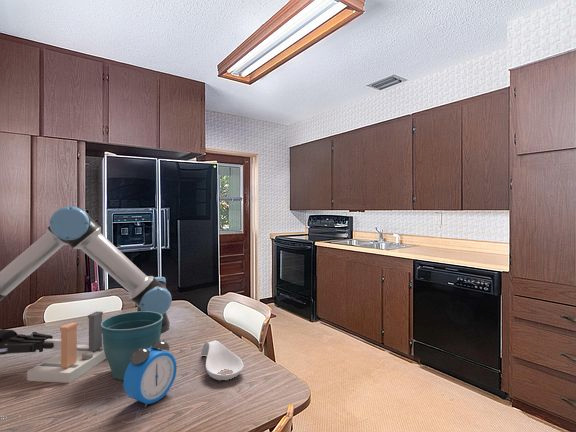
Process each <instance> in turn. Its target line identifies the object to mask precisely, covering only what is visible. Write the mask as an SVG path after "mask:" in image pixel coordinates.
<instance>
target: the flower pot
mask: <svg viewBox="0 0 576 432" xmlns="http://www.w3.org/2000/svg"><path fill="white" fill-rule="evenodd" d="M162 320H163V316H162V315H161V314H160V313H157V312H150V311H138V312H137V311H130V312H124V313H120V314H119V313H118V314H115V315H112V316H109V317H108V318H106V319H104V320H102V323H101V327H102V346H104V352H105V355H106V361H107V363H108V364H109V367H110V373H111V377H112V378H113V379H116V380H120V381H121V380H122V381H124V375H125V372H126V369H127V367H128V365H129V363H130V362H131V361H130V358H131V355H132V354H133V352H134V351H135V350H137V349H139V348H149V347H151V346H152V345H153V344H154V343H155V342H156V341H159V340H161V335H162V333H161V327H162ZM152 348H155V347H152ZM156 349H159V348H156Z"/></svg>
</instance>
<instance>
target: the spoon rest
mask: <svg viewBox="0 0 576 432" xmlns="http://www.w3.org/2000/svg"><path fill="white" fill-rule="evenodd" d="M200 353H201V354H200V356H201V355H207V356H206V358H205V370H206V372H207V375H209V377H211V378H212V379H214V380H216V381H221V380H225V381H229V379H230V380H232V378H233V379H234V377H235V378H236V377H238V375H240V374H241V373H242V372H243V369H244V367H245V366H244V363H243V360H242V359H241V358H240V357H239V356H238V355H236V354H235V353H234V352H233V351H231V350H229V349H228V347H226V346H225V345H223V343H221V342H219V341H218V340H215V339H214V340H211V341H206V342H205V343H204V344H203V347H202V348H201V352H200ZM224 369H229V370H232V371H233V373H232V374H226V375H221V374H217V373H218V372H220V371H221V370H224Z"/></svg>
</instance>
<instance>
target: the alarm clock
mask: <svg viewBox="0 0 576 432" xmlns="http://www.w3.org/2000/svg"><path fill="white" fill-rule="evenodd" d="M152 347H155V348H152ZM156 348H158V349H156ZM170 350H171V346H170V344H169V342H167V341H165V339H163V340H162V339H160V340H159V341H156V342H155V343H154V344H153V345H152V346H151V347H149V348H139V349H137V350H135V351H134V352H133V354H132V355H131V358H130V361H131V362H130V363H129V365H128V367H127V369H126V372H125V375H124V380H122V381H123V390H124V392H125V394H126V395H127V396H128V397H129V398H131V399H133V400H134V401H138V402H141V403H143V404H145V405H144V408H145V407H146V408H147V406H148V405H149V404H154V403H157V402H158V401H160V400H161V399H162V398H164V397H165V396H167V395H168V392H169V391H170V389H171V388H172V386H173V383H174V382H175V379H176V375H177V361H176V358H175V357H174V355H173V354H172V353H171V352H169V351H170ZM166 394H167V395H166Z"/></svg>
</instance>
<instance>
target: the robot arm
mask: <svg viewBox="0 0 576 432" xmlns="http://www.w3.org/2000/svg"><path fill="white" fill-rule="evenodd" d="M64 246H69V247H71V248H72V249H74V250H81V251H83V253H84V254H86V255H87V256H88V257H89V258H90V259H91V260H92V261H94V262H95V263H96V264H97V265H98V266H99V267H100V268H101V269H103V270H104V272H106V274H108V275H109V276H110V277H111V278H113V279H114V280H115V281H116V282H117V283H118V284H120V286H121V287H123V289H125V290H126V291H127V292H128V294H129V299H130V301H132V302H133V304H135V305H136V307H137V308H136V312H138V311H150V312H157V313H160V314H161V315H162V316H163V320H162V327H161V332H162V333H165V332H166V331H168V330H169V329H170V328H169V327H171V326H170V319H169V317H168V314H167V312H168V310H170V308H171V305H172V302H173V300H172V294H171V292H170V290H168V288H167V287H166V284H167V281H166V280H167V279H166V277H165V276H156V277H155V276H153V275H147V274H146V273H144V272H143V271H142V270H141V269H140V268H139V267H137V265H136V264H134V263H133V262H132V261H131V260H130V259H129V258H128V257H127V256H126V255H125V254H124V253H123V252H122V251H121V250H120V249H118V247H116V246H115V245H114V244H113V243H112V242H111V241H110V240H109V239H108V238H106V236H105V235H104V234H103V233H102V226H101V225H99V224H98V223H97V221H95V220H94V218H92V217H91V216H90V214H89V213H88V212H87V211H86V210H85V209H84V208H81V207H78V206H75V205H68V206H63V207H60V208H59V209H57V210H56V211H55V212H53V214H51V217H50V218H49V226H48V227H46V232H45V233H43V235H42V236H40V237H39V238H38V239H37V240H36V241H34V242H33V243H32V244H31V245H30V246H29V247H28V248H26V249H25V250H24V251H23V252H22V253H20V254H19V255H18V256H17V257H15V258H14V259H13V260H12V261H11V262H9V263H8V264H7V265H6V266H5V267H4V268H3V269H2V270H0V302H1V301H2V300H3V299H4V298H5V297H7V296H8V294H10V293H11V292H12V291H14V290H15V288H16V287H18V286H19V285H20V284H22V282H24V280H26V279H27V278H28V277H29V276H30V275H32V274H33V272H35V271H36V270H37V269H39V267H41V266H42V265H43V264H44V263H45V262H46V261H48V260H49V259H50V258H51V257H52V256H53V255H55V253H57V251H59V250H60V249H61V248H62V247H64ZM44 350H55V351H56V350H57V351H58V350H59V351H61V338H54V335H51V334H46V333H39V332H37V331H32V332H31V334H29V335H28V334H23V333H17V332H16V331H15V330H13V329H5V328H4V329H2V328H0V355H1V356H3V355H8V354H22V353H36V352H37V351H39V353H43V352H44Z"/></svg>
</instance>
